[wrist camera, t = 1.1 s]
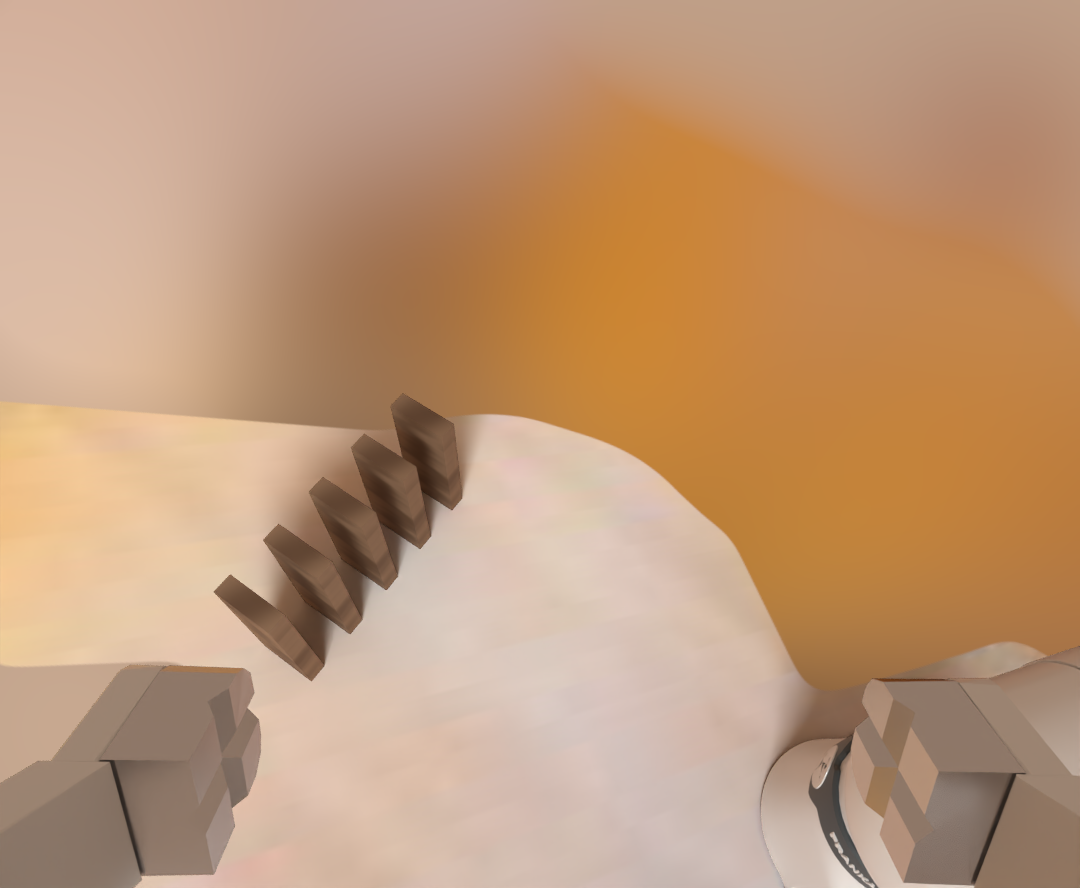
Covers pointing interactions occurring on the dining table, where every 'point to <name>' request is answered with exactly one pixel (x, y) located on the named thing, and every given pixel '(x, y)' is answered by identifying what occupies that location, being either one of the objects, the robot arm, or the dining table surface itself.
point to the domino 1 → (392, 490)
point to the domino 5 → (429, 449)
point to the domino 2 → (354, 532)
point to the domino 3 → (314, 578)
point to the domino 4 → (269, 626)
